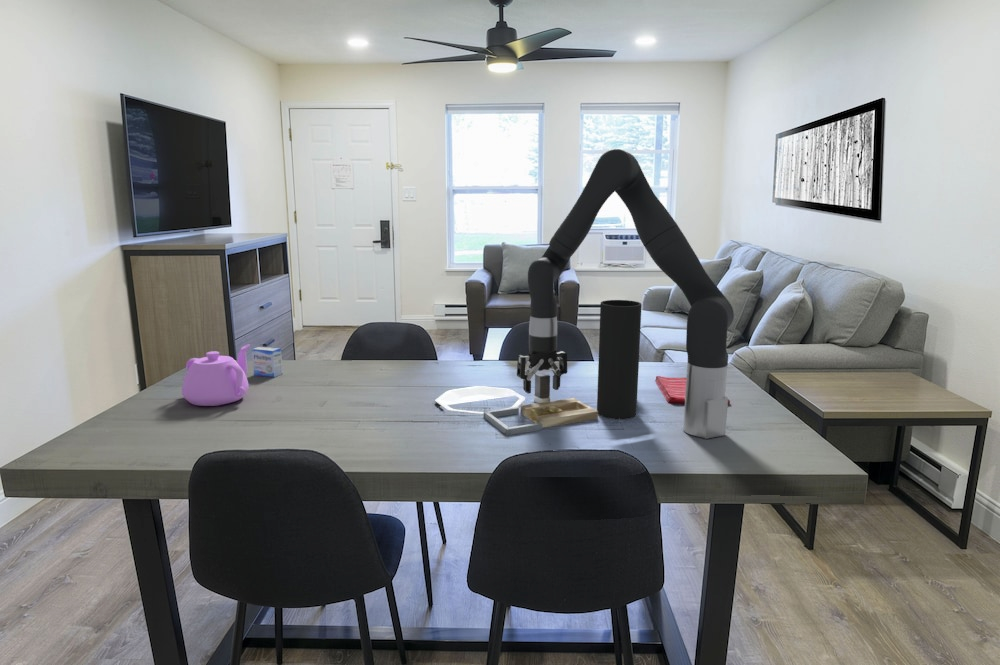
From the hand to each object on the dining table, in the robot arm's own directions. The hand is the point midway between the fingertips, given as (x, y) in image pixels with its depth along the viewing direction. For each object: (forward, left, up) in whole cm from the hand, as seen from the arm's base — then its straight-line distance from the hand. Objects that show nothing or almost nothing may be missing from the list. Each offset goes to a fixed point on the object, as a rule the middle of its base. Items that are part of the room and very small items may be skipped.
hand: (541, 390), depth 179 cm
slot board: (-11, +1, -4) cm, 12 cm away
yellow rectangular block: (-11, +6, -3) cm, 13 cm away
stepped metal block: (0, 0, -4) cm, 4 cm away
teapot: (+44, +79, -5) cm, 90 cm away
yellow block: (-11, +2, -3) cm, 12 cm away
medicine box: (+64, +65, -5) cm, 91 cm away
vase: (-15, -14, -5) cm, 21 cm away
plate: (+10, +14, -5) cm, 18 cm away
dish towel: (-6, -46, -5) cm, 47 cm away
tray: (-11, +14, -4) cm, 19 cm away
